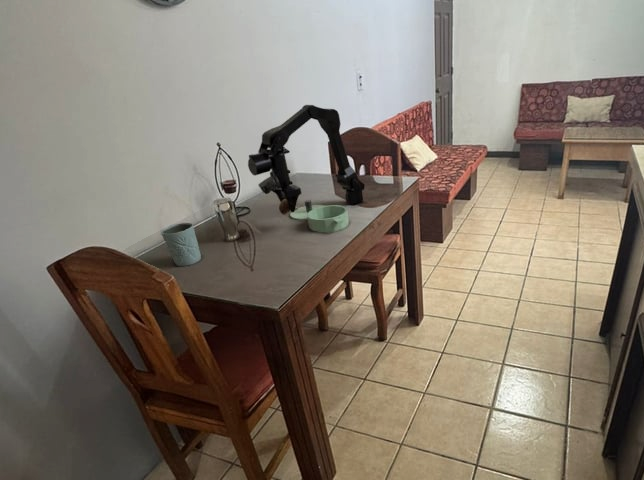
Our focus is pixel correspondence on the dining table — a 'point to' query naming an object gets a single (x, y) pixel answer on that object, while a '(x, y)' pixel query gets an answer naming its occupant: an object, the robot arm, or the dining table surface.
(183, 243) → the embossed blue planter
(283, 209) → the mushroom
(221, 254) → the dining table surface
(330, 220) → the pot
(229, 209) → the beer glass
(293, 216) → the lid
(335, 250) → the dining table surface
